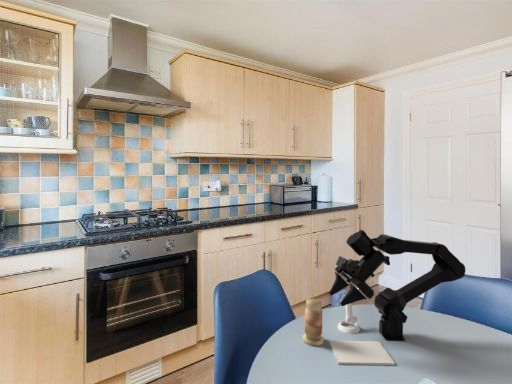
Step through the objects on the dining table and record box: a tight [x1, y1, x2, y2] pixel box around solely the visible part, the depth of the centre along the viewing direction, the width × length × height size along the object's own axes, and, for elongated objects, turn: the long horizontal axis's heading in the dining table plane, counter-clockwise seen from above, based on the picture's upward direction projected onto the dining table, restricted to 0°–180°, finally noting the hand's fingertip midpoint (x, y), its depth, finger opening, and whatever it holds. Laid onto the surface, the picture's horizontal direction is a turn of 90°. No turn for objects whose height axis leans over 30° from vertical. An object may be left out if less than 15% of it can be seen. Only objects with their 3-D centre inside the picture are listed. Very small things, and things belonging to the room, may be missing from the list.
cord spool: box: [302, 298, 325, 347], centre depth 102 cm, size 7×7×13 cm
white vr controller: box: [337, 303, 361, 335], centre depth 112 cm, size 8×12×7 cm
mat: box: [329, 340, 396, 366], centre depth 95 cm, size 16×12×1 cm
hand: (335, 299), depth 102 cm, fingers open, 9 cm apart
